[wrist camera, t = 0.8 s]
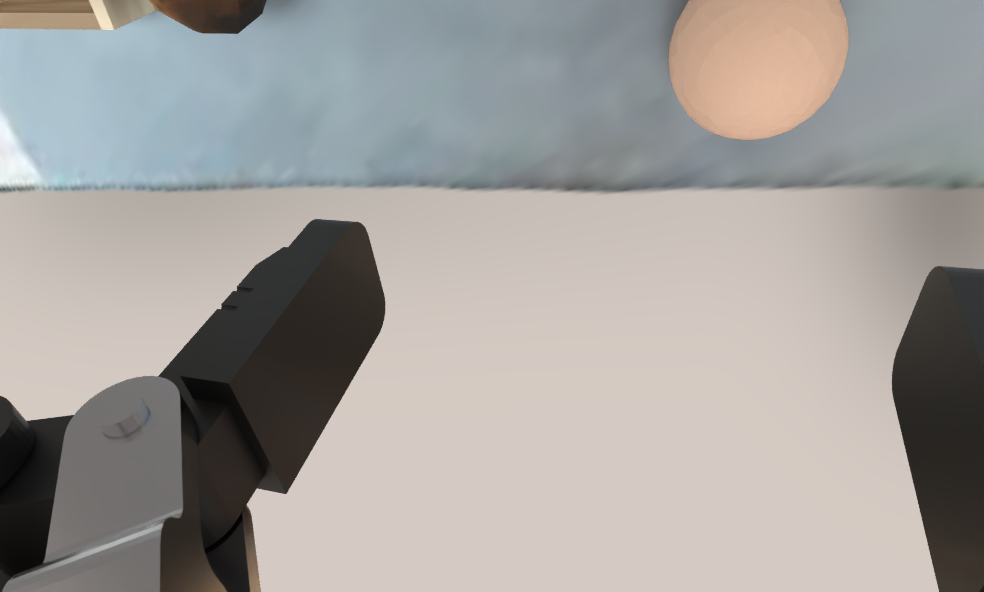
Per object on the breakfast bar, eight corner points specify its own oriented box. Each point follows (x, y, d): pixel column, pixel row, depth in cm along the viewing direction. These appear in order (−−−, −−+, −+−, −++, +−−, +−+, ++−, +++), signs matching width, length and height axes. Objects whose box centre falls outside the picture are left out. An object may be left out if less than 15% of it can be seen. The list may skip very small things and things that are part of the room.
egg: (644, 11, 30) (624, 75, 24) (785, -99, 26) (802, -54, 20) (724, 122, 32) (723, 206, 26) (865, 36, 28) (900, 112, 22)
